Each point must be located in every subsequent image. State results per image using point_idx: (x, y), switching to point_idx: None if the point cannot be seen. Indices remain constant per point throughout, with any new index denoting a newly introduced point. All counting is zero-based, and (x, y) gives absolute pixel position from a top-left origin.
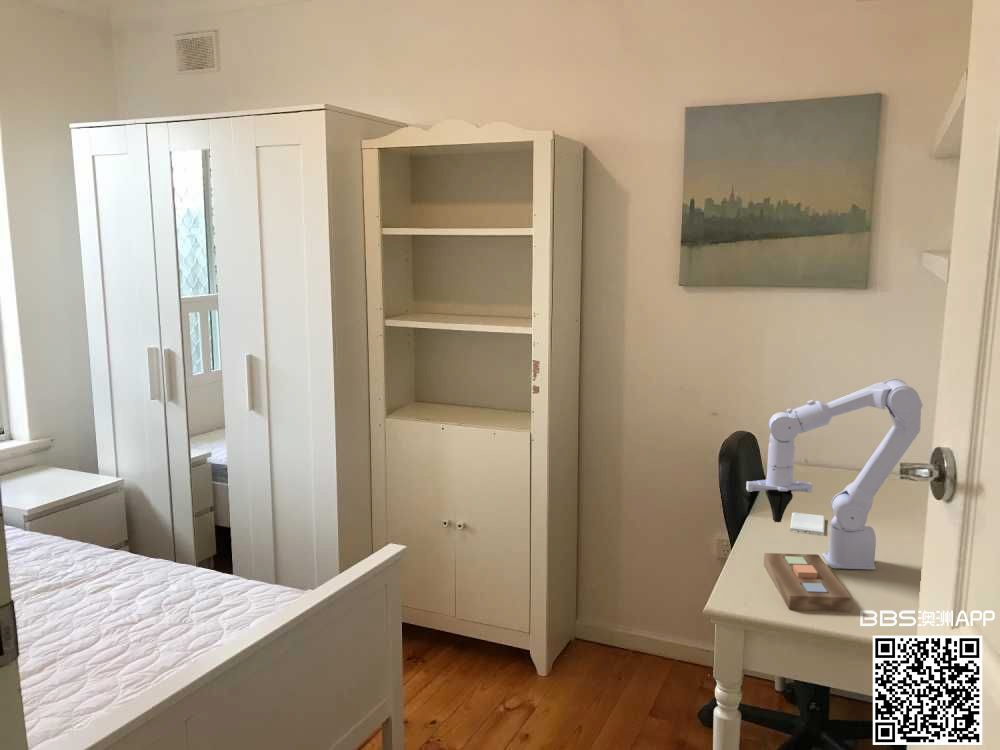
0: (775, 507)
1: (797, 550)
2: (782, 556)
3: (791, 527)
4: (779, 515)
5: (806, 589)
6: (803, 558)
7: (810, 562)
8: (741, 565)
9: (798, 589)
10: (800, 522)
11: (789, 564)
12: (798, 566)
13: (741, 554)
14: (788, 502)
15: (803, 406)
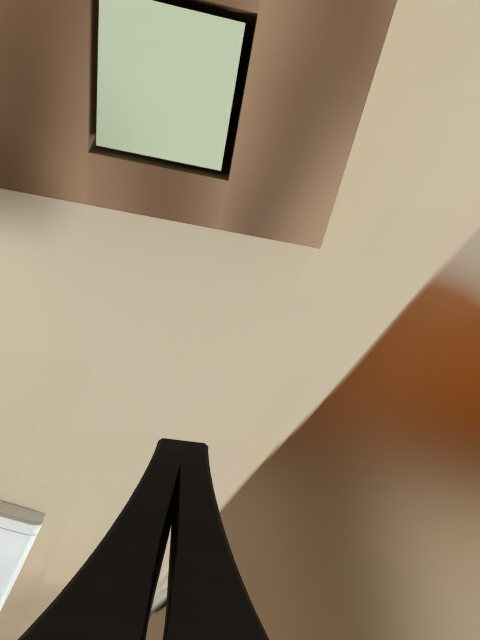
0: (217, 569)
1: (67, 366)
2: (231, 179)
3: (33, 530)
4: (172, 485)
5: None
6: (100, 111)
7: (65, 38)
8: (421, 237)
9: None
10: None
11: (243, 23)
12: None
13: (345, 353)
14: (38, 633)
15: None
